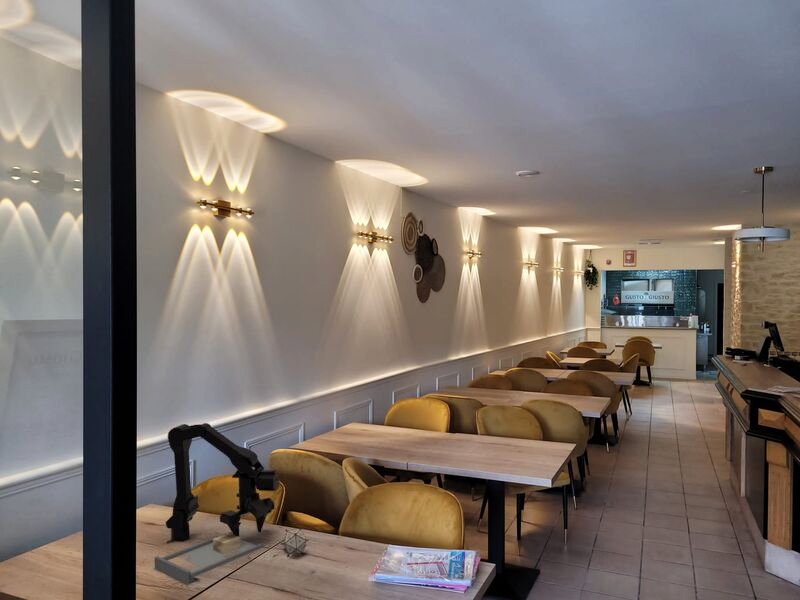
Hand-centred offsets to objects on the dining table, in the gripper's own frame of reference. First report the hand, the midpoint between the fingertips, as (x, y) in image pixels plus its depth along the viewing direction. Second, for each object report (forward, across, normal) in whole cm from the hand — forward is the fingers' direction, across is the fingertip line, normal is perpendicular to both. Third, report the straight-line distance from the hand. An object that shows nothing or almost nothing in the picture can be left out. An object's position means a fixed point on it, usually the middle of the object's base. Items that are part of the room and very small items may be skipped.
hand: (248, 536), depth 199 cm
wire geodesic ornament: (+3, +3, -19) cm, 20 cm away
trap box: (+2, -14, 0) cm, 15 cm away
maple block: (+1, -9, 0) cm, 9 cm away
